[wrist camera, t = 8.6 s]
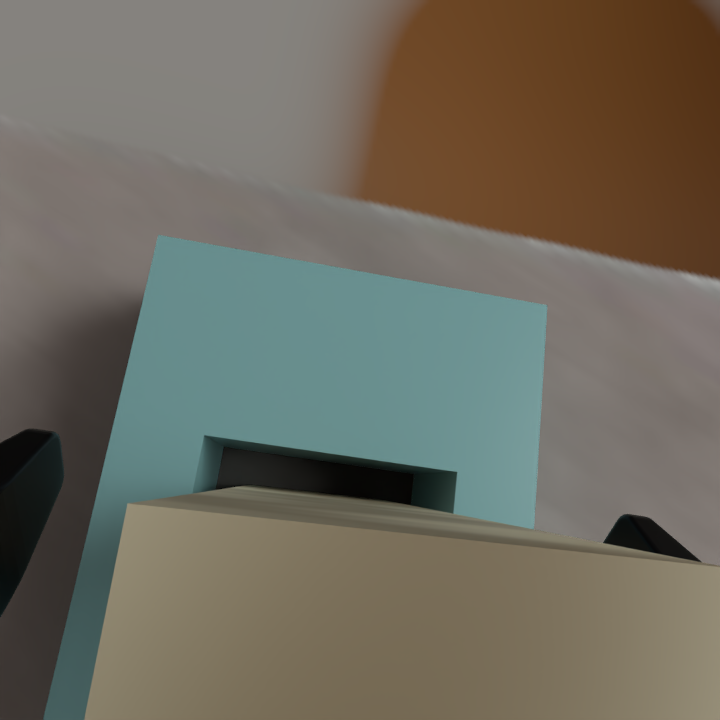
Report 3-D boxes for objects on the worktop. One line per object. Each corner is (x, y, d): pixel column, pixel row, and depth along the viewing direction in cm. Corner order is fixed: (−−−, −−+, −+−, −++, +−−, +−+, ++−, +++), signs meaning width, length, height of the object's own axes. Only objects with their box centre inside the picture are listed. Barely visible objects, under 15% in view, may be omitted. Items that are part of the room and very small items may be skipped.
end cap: (486, 345, 19) (547, 305, 15) (446, 804, 16) (510, 927, 11) (188, 294, 18) (158, 234, 14) (83, 774, 15) (0, 898, 10)
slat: (379, 499, 17) (730, 568, 4) (371, 580, 17) (744, 997, 3) (251, 484, 17) (127, 502, 3) (238, 567, 16) (31, 988, 3)
